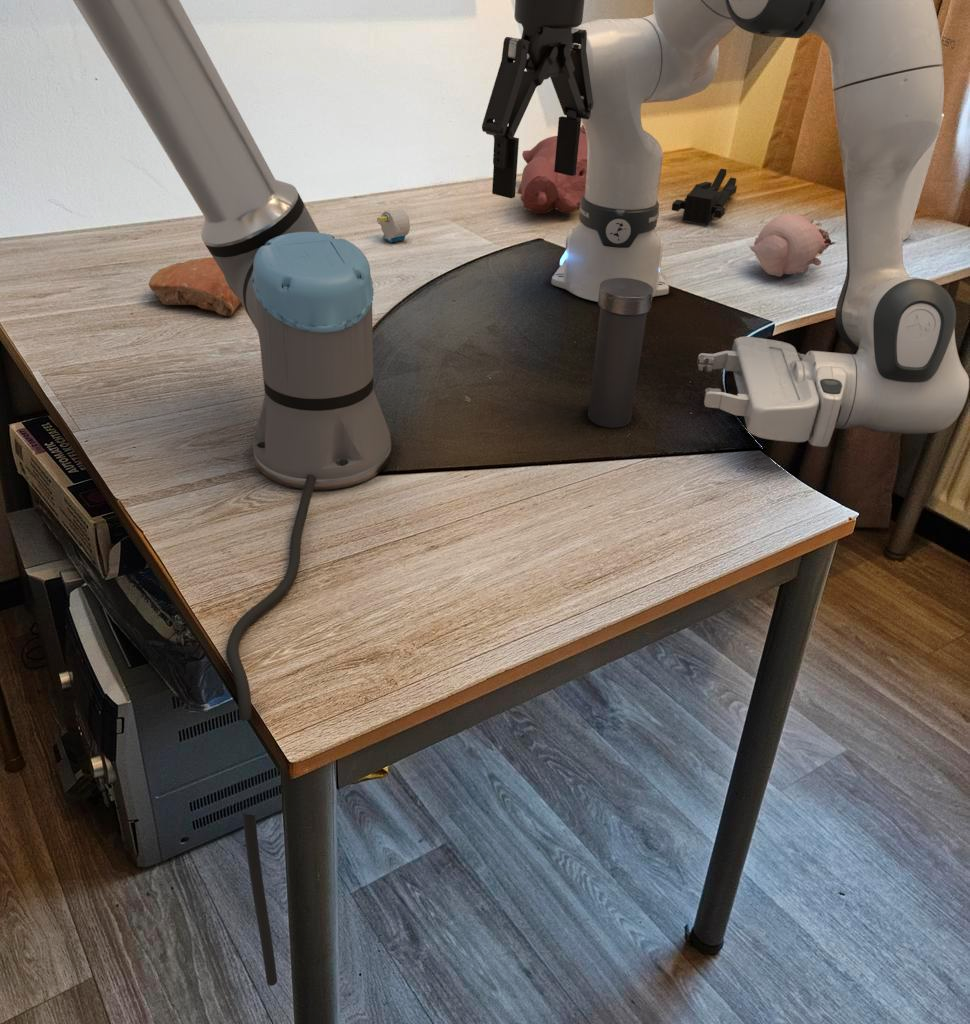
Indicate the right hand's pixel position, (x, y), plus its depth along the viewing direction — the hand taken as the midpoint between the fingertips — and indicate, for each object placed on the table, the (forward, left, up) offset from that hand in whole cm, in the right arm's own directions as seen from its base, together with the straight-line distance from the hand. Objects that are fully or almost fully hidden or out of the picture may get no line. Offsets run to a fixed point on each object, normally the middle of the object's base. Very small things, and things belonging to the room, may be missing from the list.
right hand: (701, 378), depth 114 cm
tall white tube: (-85, +42, -6) cm, 94 cm away
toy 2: (-58, +19, -6) cm, 61 cm away
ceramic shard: (-27, -71, -6) cm, 76 cm away
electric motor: (-58, -49, -6) cm, 76 cm away
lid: (0, -10, +10) cm, 14 cm away
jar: (0, -10, -6) cm, 12 cm away
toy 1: (-95, +10, -6) cm, 96 cm away
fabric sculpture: (-88, -17, -6) cm, 90 cm away
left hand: (-12, -22, +18) cm, 31 cm away
